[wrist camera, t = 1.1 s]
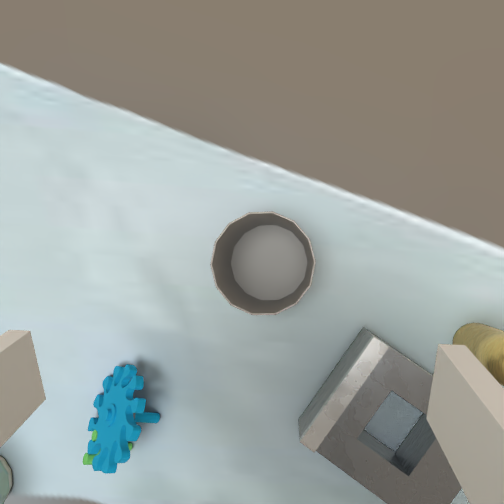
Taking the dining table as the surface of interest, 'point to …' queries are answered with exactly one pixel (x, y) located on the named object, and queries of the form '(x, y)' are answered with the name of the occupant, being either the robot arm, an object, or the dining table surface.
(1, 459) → the disposable coffee cup
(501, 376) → the brass cylinder peg
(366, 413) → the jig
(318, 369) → the dining table surface
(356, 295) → the dining table surface
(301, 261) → the cup
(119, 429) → the gear
